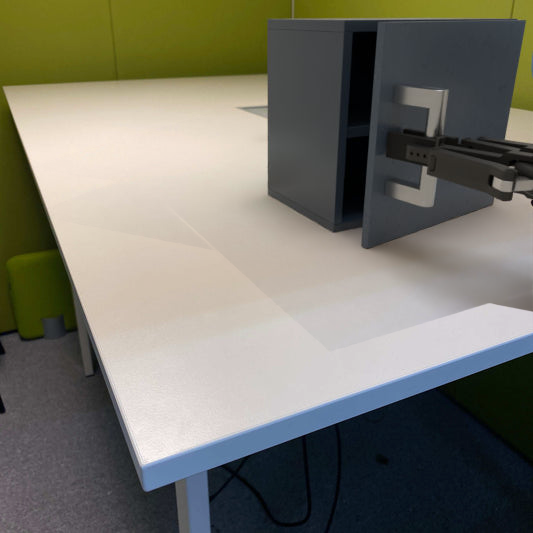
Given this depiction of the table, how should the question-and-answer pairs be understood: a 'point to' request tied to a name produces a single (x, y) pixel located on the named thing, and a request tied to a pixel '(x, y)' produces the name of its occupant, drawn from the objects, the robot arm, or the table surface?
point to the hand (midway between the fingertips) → (396, 142)
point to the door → (434, 114)
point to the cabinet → (323, 114)
